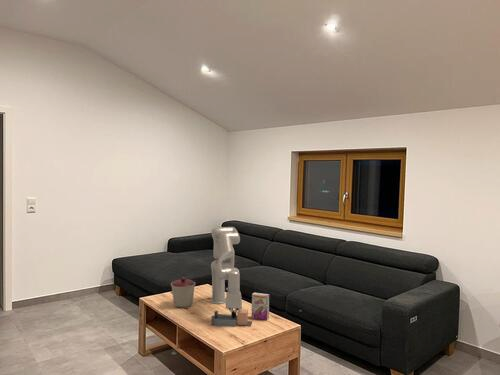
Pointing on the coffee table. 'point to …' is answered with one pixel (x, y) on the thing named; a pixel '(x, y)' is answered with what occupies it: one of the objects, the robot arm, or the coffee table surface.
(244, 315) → the block
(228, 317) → the grey u-shaped bracket
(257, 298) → the candy bar box
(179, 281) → the canister
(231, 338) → the coffee table surface
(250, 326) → the mat
